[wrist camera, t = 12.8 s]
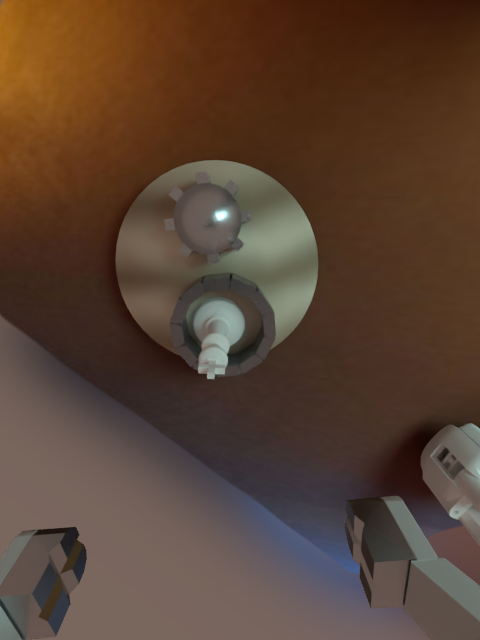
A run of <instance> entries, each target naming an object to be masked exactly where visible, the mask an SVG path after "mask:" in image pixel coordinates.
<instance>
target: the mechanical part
mask: <svg viewBox="0 0 480 640" xmlns="http://www.w3.org/2000/svg"><path fill="white" fill-rule="evenodd" d="M421 468H422V471H423V480H424V482H425V483H426V484H427V486H428V487H429V488H430V490H431V491H432V492H433V494H434V495H435V496H436V498H437V499H438V500H439V502H440V503H441V505H442V506H443V507H444V509H445V510H446V511H447V513H448V514H449V515H450V516H451V517H452V518H455V519H457V520H458V519H459V520H460V521H461V523H462V524H463V525H464V526H465V528H466V529H467V530H468V532H469V533H470V534H471V536H472V537H473V538H474V539H475V541H476V542H477V543H478V545H479V546H480V428H478V427H477V426H475V425H474V424H472V423H469V424H465V425H464V426H461V427H459V428H457V427H456V426H454V425H451V424H450V425H448V426H446V427H444V428H443V429H441V430H440V431H439V432H438V433H437V434H436V435H435V436H434V437H433V438H432V439H431V440H430V441H429V442H428V444H427V445H426V447H425V448H424V450H423V452H422V455H421Z"/></svg>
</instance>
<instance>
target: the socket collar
mask: <svg viewBox="0 0 480 640" xmlns="http://www.w3.org/2000/svg"><path fill="white" fill-rule="evenodd" d="M221 290H231V291H234V292H236V293H238V294H241V295H243V296H245V297H248V298H250V299H251V301H252V302H253V303H254V305H255V306H256V307H257V309H258V310H259V311H260V313H261V323H262V327H261V329H260V331H259V333H258V335H257V337H256V339H255V341H254V343H252V344H251V345H249V346H248V347H246V348H245V349H243V350H242V351H241V352H239V353H235V354H227V357H228V364H227V366H226V368H225V374H215V377H216V375H217V377H225V376H234V375H241V372H242V373H243V374H244V373H246V372H247V371H249V370H250V369H252V368H253V367H255V366H257V365H258V364H260V363H261V362H263V359H265V358H266V356H267V354H268V352H269V350H270V348H271V347H272V345H273V343H274V341H275V339H276V338H275V337H276V329H275V315H274V310H273V308H272V306H271V304H270V302H269V301H268V299H267V298H266V296H265V295H264V294H263V292H262V291H261V290H260V288H259V287H258V285H257V284H255V282H253V281H250V280H248V279H246V278H243V277H241V276H239V275H237V274H234V273H232V275H231V276H230V272H229V273H220V274H211V275H205V277H204V276H203V277H201V278H200V279H199V280H198V281H196V282H195V283H194V284H192V285H191V286H190V287H188V288H187V289H186V290H184V292H183V293H182V294H181V296H180V297H179V298H178V301H177V303H176V306H175V309H174V311H173V314H172V316H171V319H170V324H169V325H170V330H171V335H172V340H173V345H174V347H176V348H175V350H176V351H177V352H178V353H179V355H180V356H181V357H182V358H183V359H184V360H185V361H186V362H187V363H188V365H189V366H190V367H192V366H193V369H195V370H198V366H199V362H198V358H199V355H200V353H201V352H202V348H201V347H200V346H199V345H198V344H197V342H196V341H195V340H194V339H193V338H192V337H191V335H190V334H189V330H188V324H187V319H186V314H187V312H188V309H189V307H190V304H191V303H193V302H194V301H195V300H197V299H198V298H199V297H201V296H202V295H203V294H205V293H206V292H212V291H221Z"/></svg>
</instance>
